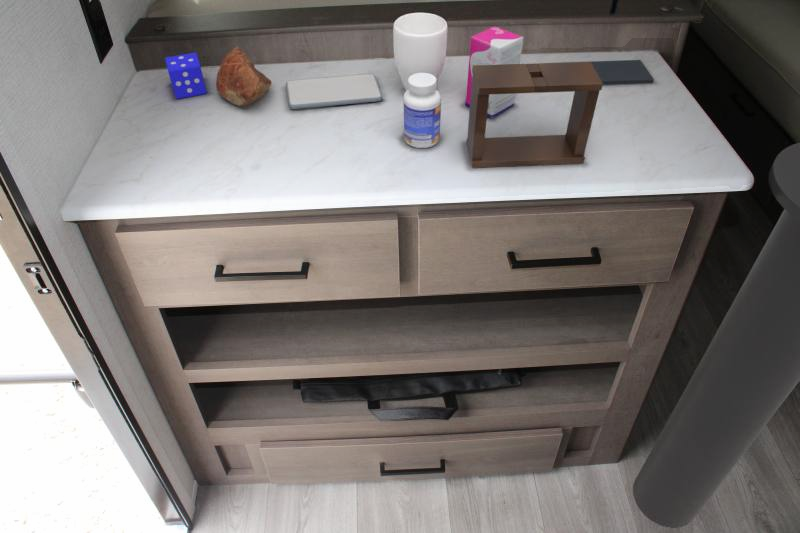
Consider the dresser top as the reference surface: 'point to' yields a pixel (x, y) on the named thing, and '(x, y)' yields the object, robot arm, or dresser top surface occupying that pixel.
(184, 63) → the die
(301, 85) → the smartphone
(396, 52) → the mug
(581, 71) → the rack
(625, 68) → the mat
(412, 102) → the pill bottle
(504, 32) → the supplement box
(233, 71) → the reddish-brown rock
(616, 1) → the T-handle
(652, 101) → the dresser top surface
